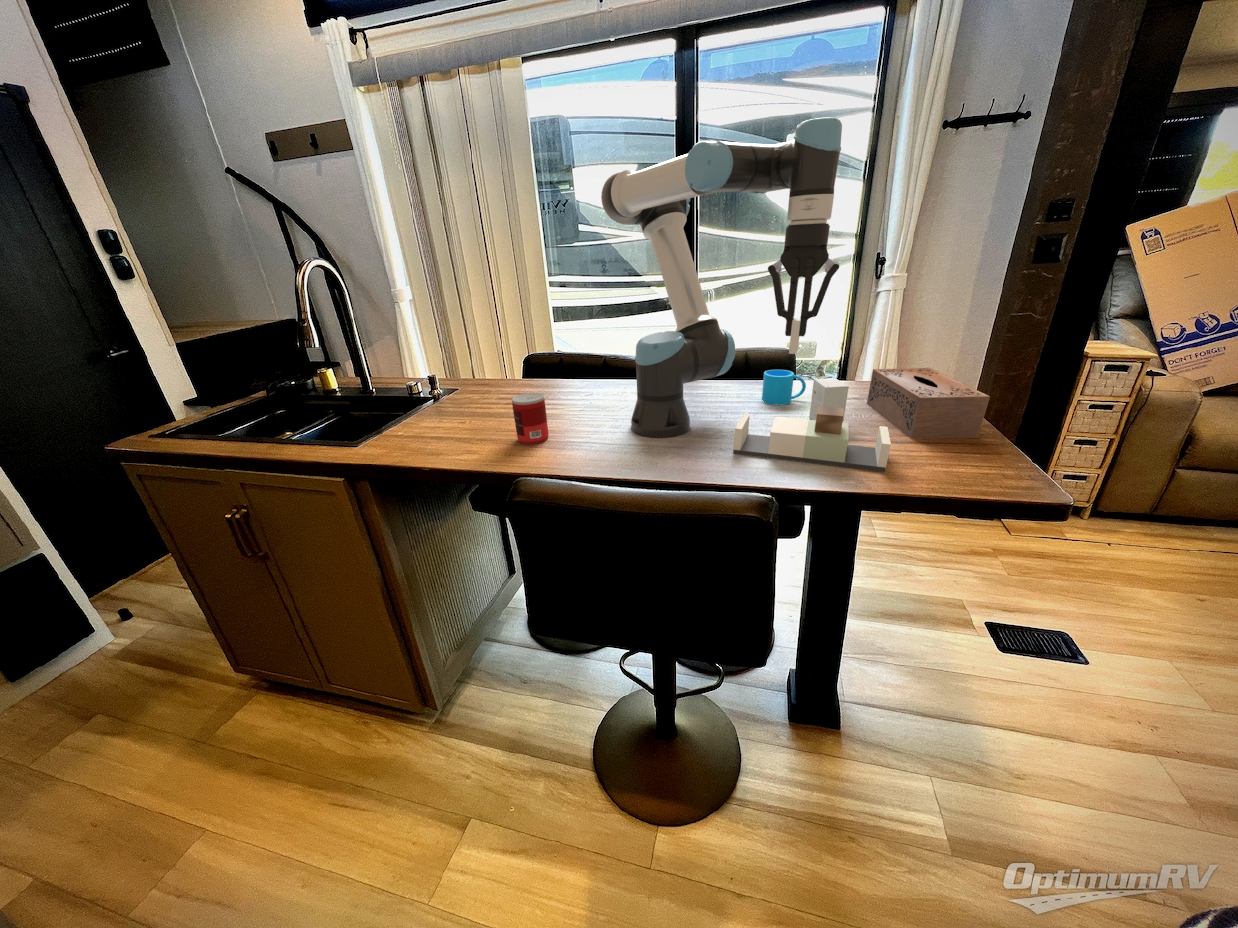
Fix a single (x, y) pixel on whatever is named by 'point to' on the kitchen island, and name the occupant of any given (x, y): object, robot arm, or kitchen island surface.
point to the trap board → (850, 459)
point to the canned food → (530, 418)
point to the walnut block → (829, 420)
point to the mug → (779, 386)
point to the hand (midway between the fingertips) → (793, 352)
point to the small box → (828, 395)
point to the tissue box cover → (927, 403)
